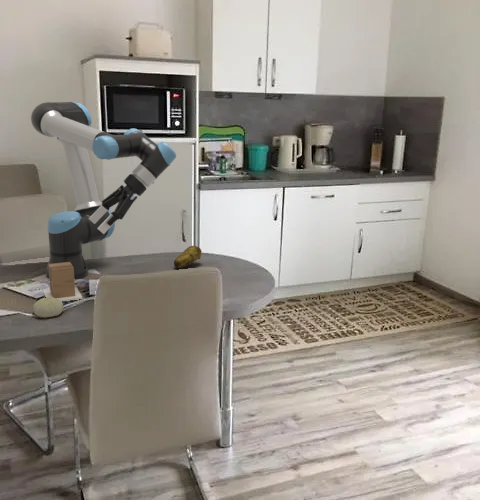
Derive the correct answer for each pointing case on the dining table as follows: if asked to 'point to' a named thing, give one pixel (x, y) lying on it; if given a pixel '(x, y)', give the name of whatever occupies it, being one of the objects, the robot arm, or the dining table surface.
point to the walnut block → (62, 280)
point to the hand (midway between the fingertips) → (95, 226)
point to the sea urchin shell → (48, 307)
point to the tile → (76, 297)
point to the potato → (188, 257)
